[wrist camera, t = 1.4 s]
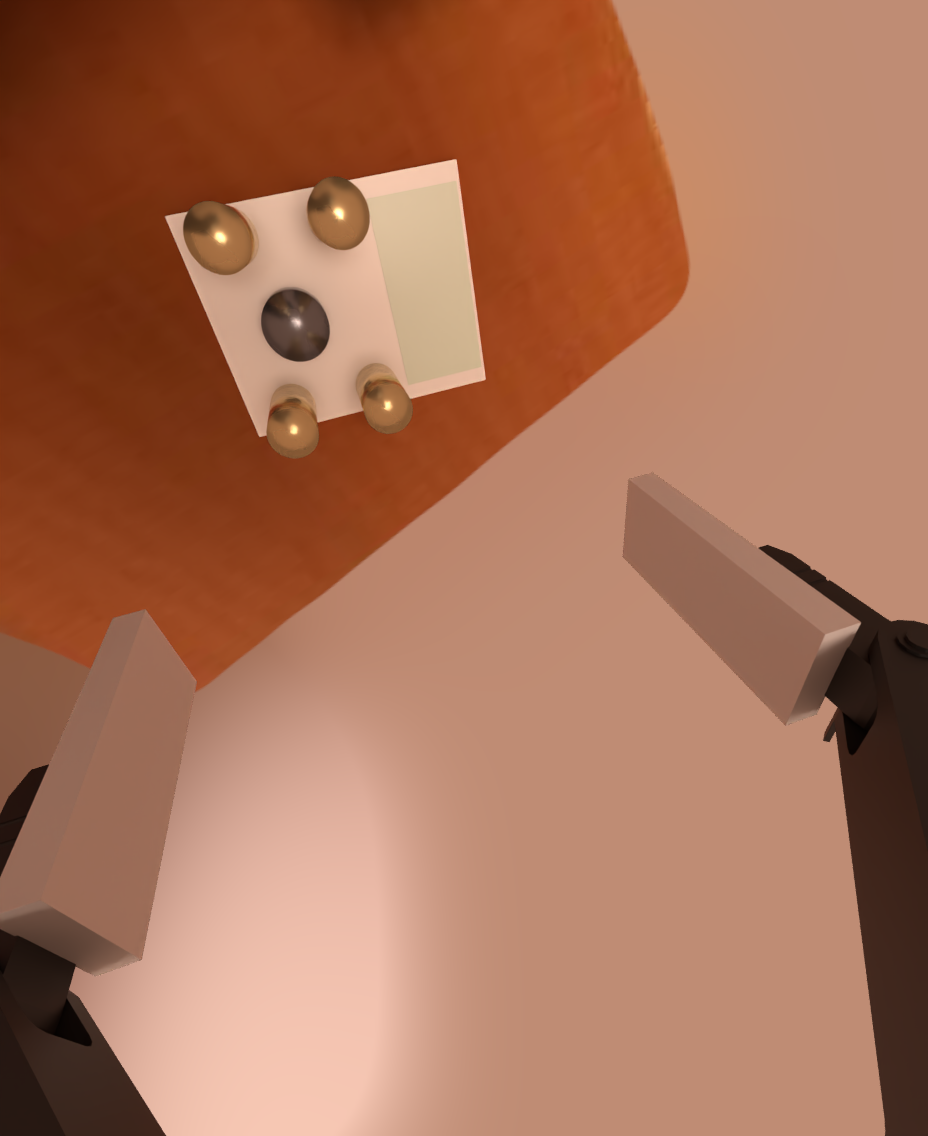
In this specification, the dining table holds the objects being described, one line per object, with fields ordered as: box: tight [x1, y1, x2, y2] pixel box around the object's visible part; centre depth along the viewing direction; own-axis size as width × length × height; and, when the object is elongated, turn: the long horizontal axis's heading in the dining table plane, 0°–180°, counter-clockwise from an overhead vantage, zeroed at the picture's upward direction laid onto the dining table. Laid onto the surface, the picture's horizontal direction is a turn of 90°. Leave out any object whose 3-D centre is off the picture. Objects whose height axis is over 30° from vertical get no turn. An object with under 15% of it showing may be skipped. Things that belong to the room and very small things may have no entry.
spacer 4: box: [356, 363, 413, 434], centre depth 33 cm, size 3×3×6 cm
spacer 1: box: [183, 201, 259, 275], centre depth 27 cm, size 3×3×6 cm
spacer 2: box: [266, 384, 319, 458], centre depth 33 cm, size 3×3×6 cm
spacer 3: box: [306, 177, 370, 250], centre depth 27 cm, size 3×3×6 cm
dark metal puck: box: [261, 287, 330, 362], centre depth 31 cm, size 4×4×2 cm
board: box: [165, 159, 486, 437], centre depth 33 cm, size 13×17×1 cm
